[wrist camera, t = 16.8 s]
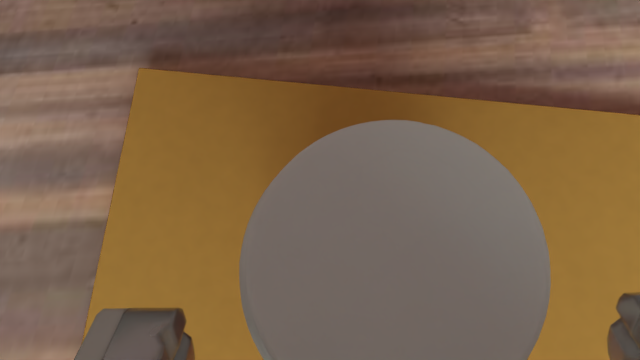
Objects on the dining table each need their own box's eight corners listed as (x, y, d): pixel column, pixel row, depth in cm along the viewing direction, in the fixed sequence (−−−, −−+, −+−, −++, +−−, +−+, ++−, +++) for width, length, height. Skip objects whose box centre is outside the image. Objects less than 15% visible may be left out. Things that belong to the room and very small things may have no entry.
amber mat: (71, 443, 19) (59, 449, 19) (146, 75, 22) (138, 67, 21) (662, 540, 17) (676, 552, 17) (663, 124, 20) (675, 117, 19)
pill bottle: (309, 176, 20) (251, 36, 9) (479, 212, 19) (632, 105, 8) (268, 349, 19) (146, 421, 8) (448, 393, 18) (578, 539, 7)
